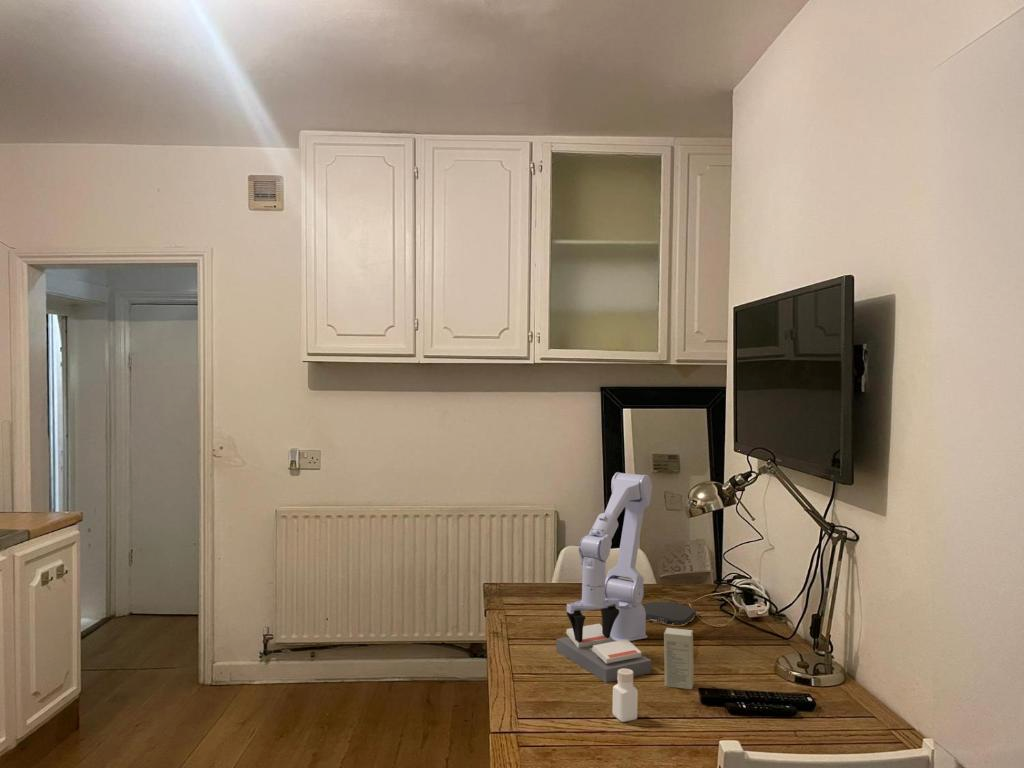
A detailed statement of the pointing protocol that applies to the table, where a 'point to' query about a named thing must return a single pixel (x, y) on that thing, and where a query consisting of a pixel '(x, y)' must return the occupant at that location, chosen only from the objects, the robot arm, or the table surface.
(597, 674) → the rocker switch panel
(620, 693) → the white pill bottle
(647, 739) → the table surface
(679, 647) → the skincare box
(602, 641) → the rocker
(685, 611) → the media streaming box
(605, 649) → the rocker
